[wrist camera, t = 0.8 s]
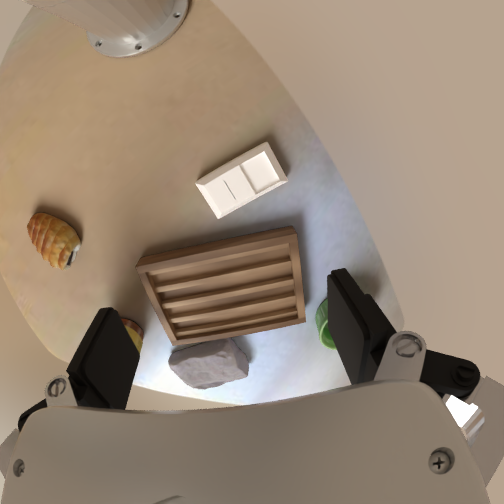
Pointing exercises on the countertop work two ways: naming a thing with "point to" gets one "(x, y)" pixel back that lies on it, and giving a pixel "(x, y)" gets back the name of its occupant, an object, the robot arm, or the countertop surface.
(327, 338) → the ramekin
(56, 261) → the pastry
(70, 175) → the countertop surface
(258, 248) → the drying rack
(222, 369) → the stone block
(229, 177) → the soap bar
